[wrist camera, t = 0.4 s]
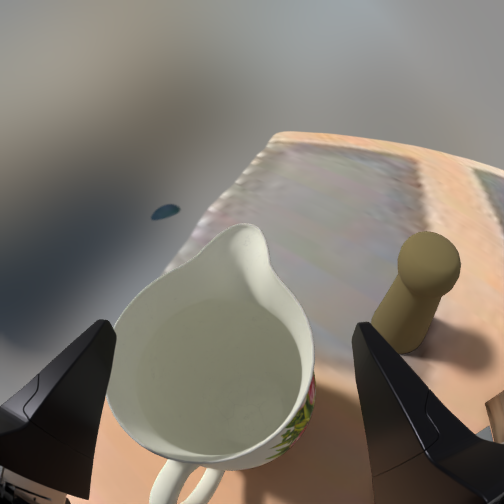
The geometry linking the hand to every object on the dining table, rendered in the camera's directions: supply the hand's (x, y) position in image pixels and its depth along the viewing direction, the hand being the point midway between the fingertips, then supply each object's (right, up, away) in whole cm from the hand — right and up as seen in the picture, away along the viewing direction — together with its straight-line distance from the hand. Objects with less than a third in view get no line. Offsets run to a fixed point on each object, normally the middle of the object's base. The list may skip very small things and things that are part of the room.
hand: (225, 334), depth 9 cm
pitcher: (0, -12, +11) cm, 16 cm away
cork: (+15, -5, +15) cm, 22 cm away
